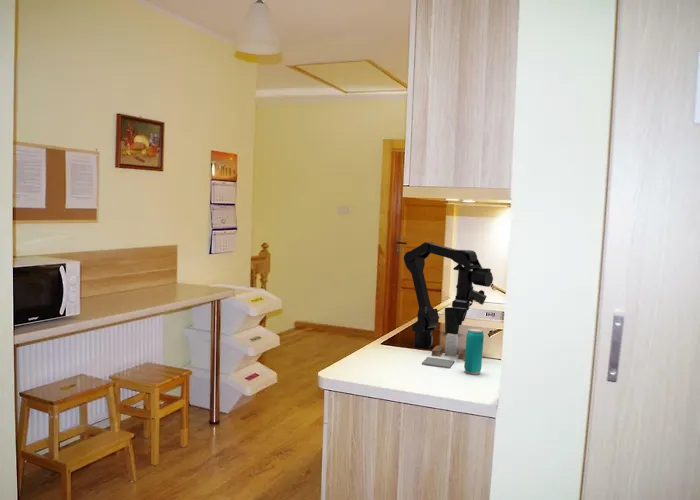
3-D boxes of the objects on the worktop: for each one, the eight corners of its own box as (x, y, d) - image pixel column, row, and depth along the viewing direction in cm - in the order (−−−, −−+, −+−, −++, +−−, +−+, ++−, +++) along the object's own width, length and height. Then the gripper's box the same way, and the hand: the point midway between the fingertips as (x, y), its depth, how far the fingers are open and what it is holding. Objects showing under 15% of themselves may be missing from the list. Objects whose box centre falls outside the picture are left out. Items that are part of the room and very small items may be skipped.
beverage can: (481, 371, 202) (485, 329, 201) (479, 376, 196) (483, 332, 195) (465, 369, 203) (468, 327, 202) (462, 373, 198) (465, 330, 197)
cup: (462, 335, 262) (464, 309, 261) (456, 338, 256) (458, 311, 255) (446, 332, 266) (448, 306, 265) (440, 335, 260) (441, 308, 259)
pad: (421, 364, 207) (421, 362, 207) (427, 358, 216) (427, 356, 216) (449, 368, 203) (449, 366, 203) (454, 362, 213) (454, 360, 213)
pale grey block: (444, 355, 222) (446, 335, 221) (446, 353, 226) (447, 333, 225) (455, 357, 221) (456, 336, 220) (456, 354, 224) (458, 334, 224)
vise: (431, 355, 221) (432, 350, 221) (436, 350, 230) (436, 345, 229) (478, 361, 215) (478, 356, 215) (481, 356, 224) (481, 351, 224)
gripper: (484, 288, 211) (480, 330, 212) (488, 282, 229) (484, 321, 230) (453, 284, 214) (450, 326, 215) (459, 279, 232) (456, 318, 233)
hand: (461, 323), depth 223 cm, fingers open, 9 cm apart
